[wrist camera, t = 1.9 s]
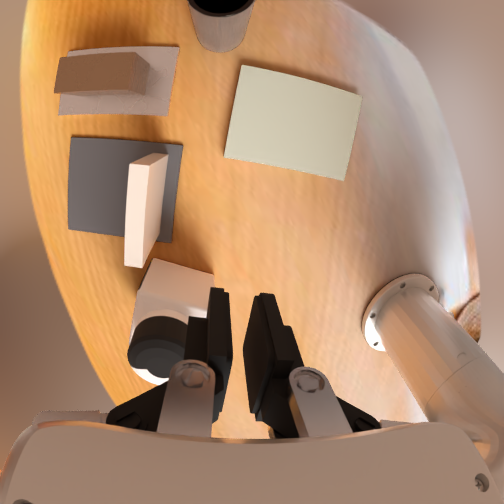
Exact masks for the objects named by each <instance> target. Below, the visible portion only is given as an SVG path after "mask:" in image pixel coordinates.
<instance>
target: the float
mask: <svg viewBox="0 0 504 504" xmlns="http://www.w3.org/2000/svg"><path fill="white" fill-rule="evenodd" d="M179 51H180V48H179V47H157V46H137V47H110V48H96V49H86V50H77V51H69V52H68V56H67V57H62V58H60V60H59V65H58V70H57V76H56V82H55V88H54V93H57V94H61V97H60V105H59V114H58V115H78V114H134V115H157V116H168V115H169V108H170V101H171V95H172V89H173V83H174V77H175V72H176V66H177V61H178V56H179Z"/></svg>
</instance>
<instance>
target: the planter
mask: <svg viewBox="0 0 504 504" xmlns="http://www.w3.org/2000/svg"><path fill="white" fill-rule="evenodd" d="M187 2H188V5H189V9H190V13H191V16H192V20H193V24H194V27H195V31H196V35H197V38H198V40H199V42H200V44H201V45H202V46H203V47H204V48H206V49H208V50H210V51H213V52H227V51H230V50H233V49H234V48H236V47H237V46H238V45H239V44H240V43H241V42H242V40H243V38H244V36H245V32H246V29H247V26H248V22H249V19H250V15H251V12H252V9H253V6H254V2H255V0H187Z"/></svg>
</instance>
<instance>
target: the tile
mask: <svg viewBox="0 0 504 504" xmlns="http://www.w3.org/2000/svg"><path fill="white" fill-rule="evenodd" d="M168 155H169V154H160V153H152V154H150V155H147V156H145V157H143V158H141V159H139V160H136V161H134V162H132V163H130V165H129V175H128V187H127V200H126V218H125V251H124V266H131V267H138V268H143V265H144V263H145V261H146V259H147V257H148V255H149V253H150V251H151V249H152V247H153V245H154V243H155V241H156V239H157V237H158V235H159V233H160V226H161V215H162V204H163V195H164V186H165V178H166V170H167V162H168Z"/></svg>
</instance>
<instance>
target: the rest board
mask: <svg viewBox="0 0 504 504" xmlns="http://www.w3.org/2000/svg"><path fill="white" fill-rule="evenodd" d="M362 98H363V97H362V96H359V95H357V94H354V93H351V92H348V91H345V90H342V89H339V88H336V87H332V86H329V85H326V84H322V83H319V82H315V81H312V80H308V79H305V78H301V77H297V76H293V75H289V74H285V73H280V72H276V71H271V70H267V69H262V68H257V67H252V66H246V65H242V66H241V70H240V75H239V79H238V84H237V89H236V94H235V99H234V104H233V109H232V114H231V119H230V125H229V130H228V135H227V141H226V146H225V152H224V158H230V159H237V160H243V161H249V162H254V163H260V164H266V165H271V166H276V167H281V168H286V169H291V170H296V171H301V172H306V173H310V174H315V175H320V176H324V177H328V178H333V179H337V180H341V181H344V179H345V175H346V171H347V167H348V163H349V158H350V154H351V150H352V145H353V141H354V136H355V132H356V127H357V123H358V118H359V113H360V108H361V103H362Z"/></svg>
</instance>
